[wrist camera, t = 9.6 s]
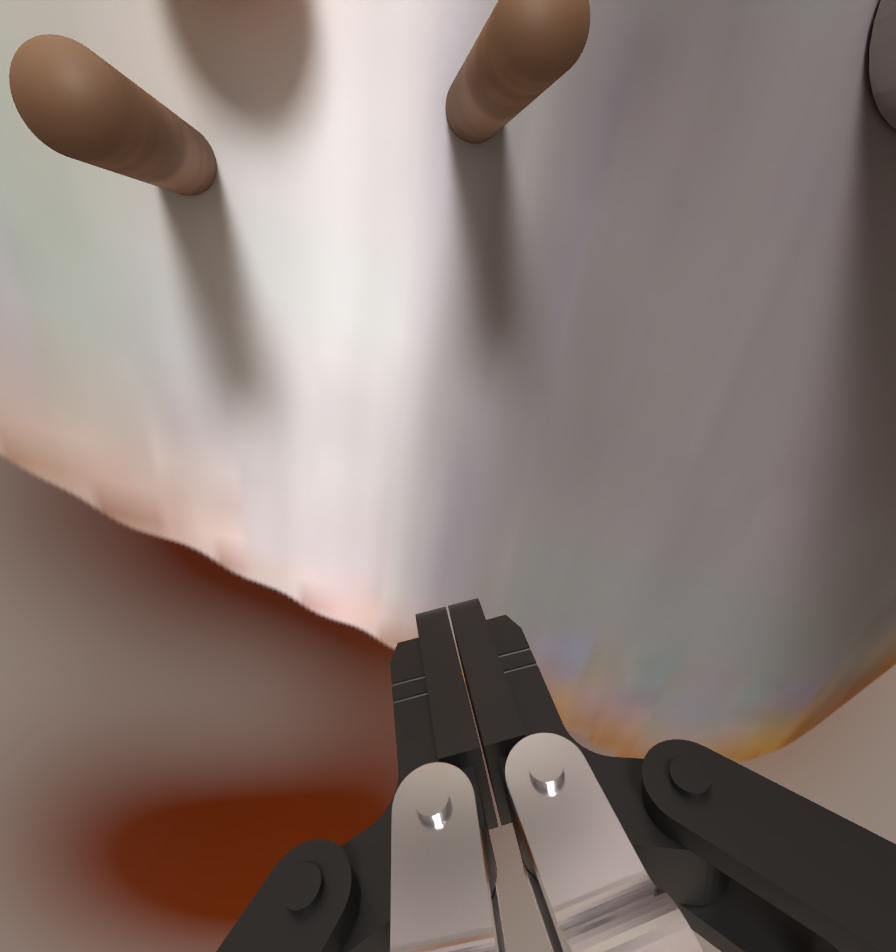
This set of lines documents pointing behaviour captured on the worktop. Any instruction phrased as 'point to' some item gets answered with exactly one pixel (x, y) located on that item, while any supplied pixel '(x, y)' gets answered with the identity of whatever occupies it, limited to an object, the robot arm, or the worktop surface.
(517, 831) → the robot arm
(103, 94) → the post
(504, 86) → the post
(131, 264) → the worktop surface
